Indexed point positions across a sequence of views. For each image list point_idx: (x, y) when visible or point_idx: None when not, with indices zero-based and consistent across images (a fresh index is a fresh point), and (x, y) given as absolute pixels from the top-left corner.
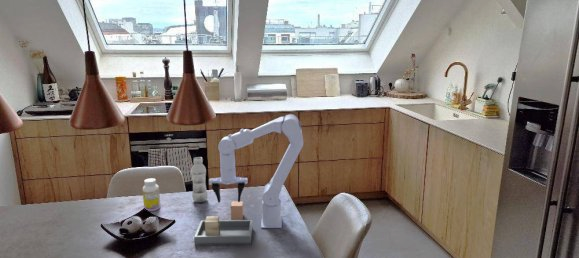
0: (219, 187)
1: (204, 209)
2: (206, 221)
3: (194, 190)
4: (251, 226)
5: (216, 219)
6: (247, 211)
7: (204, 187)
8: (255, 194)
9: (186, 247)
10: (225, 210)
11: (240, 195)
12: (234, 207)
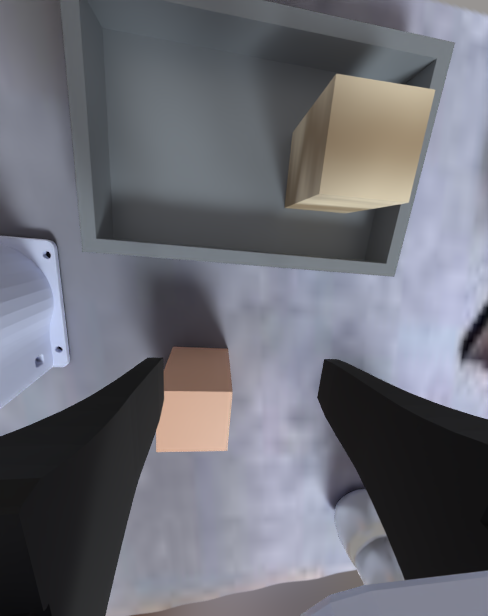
0: (399, 529)
1: None
2: (421, 102)
3: None
4: (73, 146)
5: (341, 129)
6: None
7: (378, 579)
8: (133, 560)
9: None
10: (256, 432)
11: (103, 388)
12: (208, 384)
